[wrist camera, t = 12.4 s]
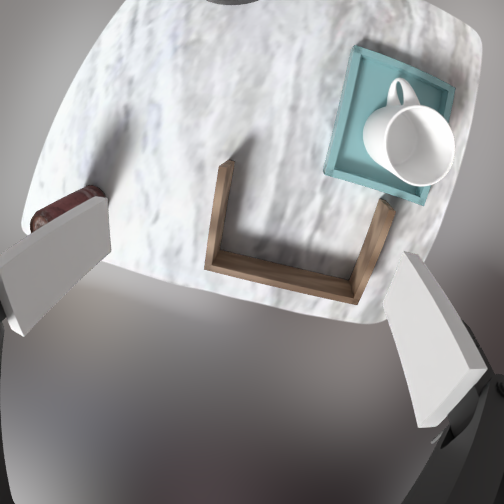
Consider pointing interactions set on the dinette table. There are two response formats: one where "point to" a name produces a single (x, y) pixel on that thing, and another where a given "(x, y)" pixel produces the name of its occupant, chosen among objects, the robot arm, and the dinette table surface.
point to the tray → (363, 105)
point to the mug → (410, 138)
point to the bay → (288, 275)
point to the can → (63, 206)
